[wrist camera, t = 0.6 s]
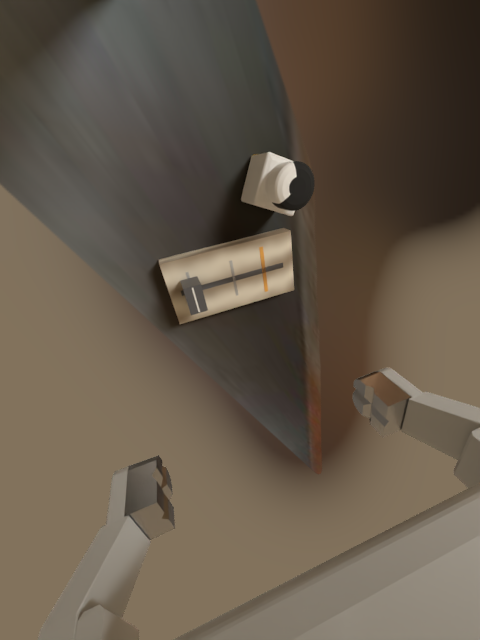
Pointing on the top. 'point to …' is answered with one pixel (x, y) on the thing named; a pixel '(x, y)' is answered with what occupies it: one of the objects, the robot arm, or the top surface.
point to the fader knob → (194, 295)
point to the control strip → (232, 272)
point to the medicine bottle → (277, 183)
